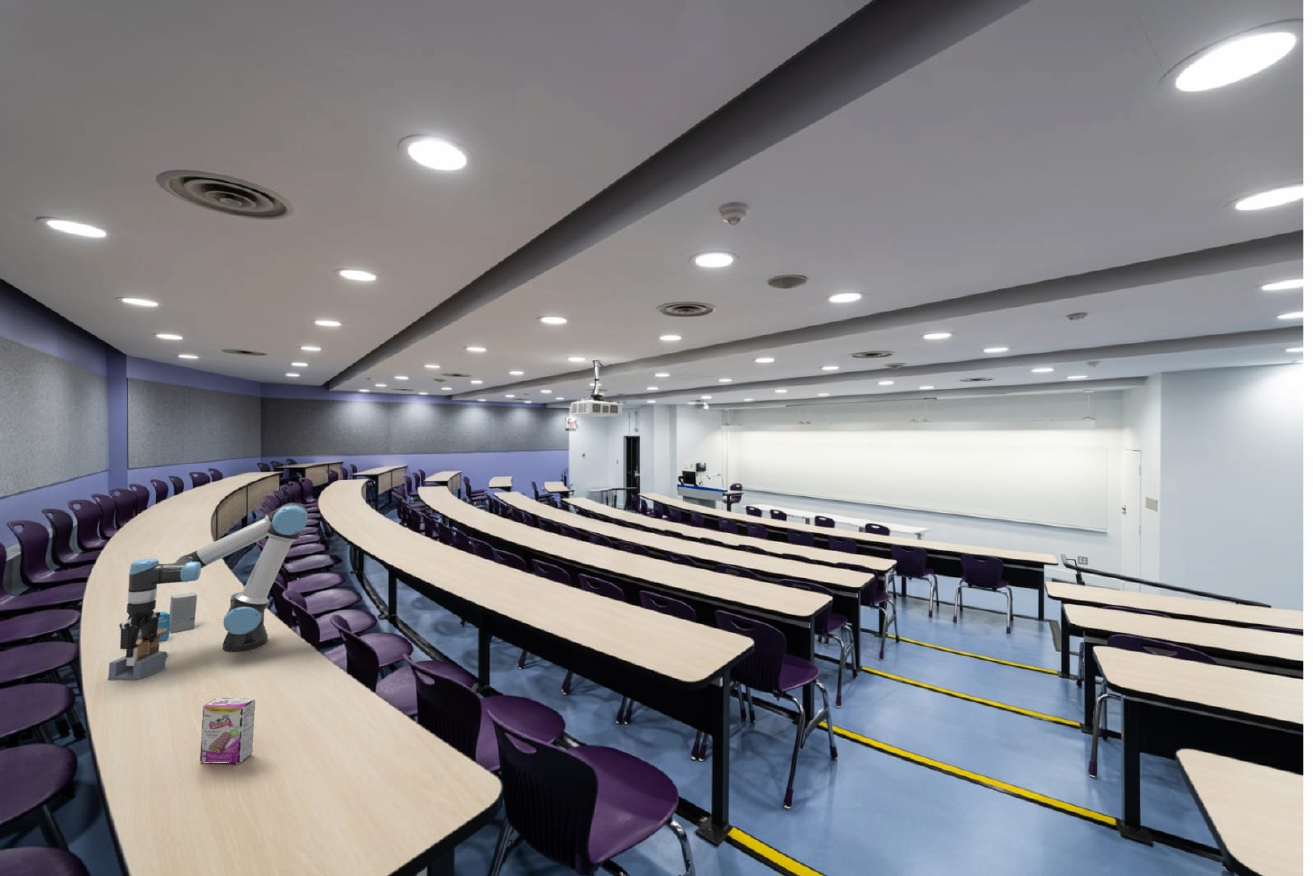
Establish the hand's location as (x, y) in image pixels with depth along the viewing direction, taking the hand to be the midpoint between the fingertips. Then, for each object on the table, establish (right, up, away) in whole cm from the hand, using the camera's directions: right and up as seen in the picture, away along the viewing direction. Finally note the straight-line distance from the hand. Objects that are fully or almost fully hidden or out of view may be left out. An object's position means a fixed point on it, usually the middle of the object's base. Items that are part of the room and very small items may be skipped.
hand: (137, 662), depth 183 cm
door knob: (-7, -4, +12) cm, 14 cm away
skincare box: (-24, -4, +41) cm, 48 cm away
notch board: (0, -4, 0) cm, 4 cm away
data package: (-23, -4, +25) cm, 34 cm away
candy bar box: (+74, -7, -45) cm, 87 cm away
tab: (0, 0, 0) cm, 0 cm away
